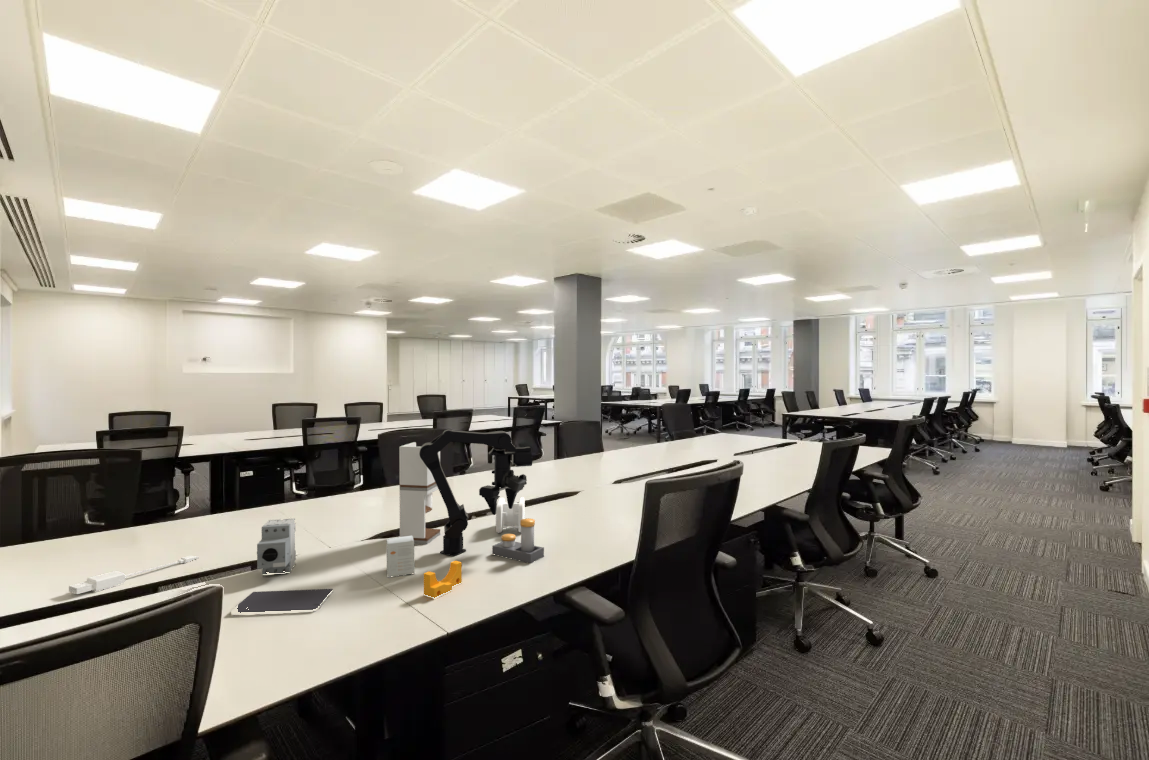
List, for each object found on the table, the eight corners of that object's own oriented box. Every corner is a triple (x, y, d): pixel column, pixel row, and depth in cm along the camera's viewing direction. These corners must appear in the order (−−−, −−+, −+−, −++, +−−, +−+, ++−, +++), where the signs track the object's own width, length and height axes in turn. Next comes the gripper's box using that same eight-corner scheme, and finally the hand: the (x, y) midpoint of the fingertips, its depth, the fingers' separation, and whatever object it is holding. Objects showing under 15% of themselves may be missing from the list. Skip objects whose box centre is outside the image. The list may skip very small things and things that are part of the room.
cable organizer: (522, 535, 201) (522, 505, 201) (494, 535, 200) (494, 505, 200) (524, 524, 216) (525, 495, 215) (498, 524, 215) (498, 495, 215)
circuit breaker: (255, 584, 154) (255, 533, 154) (269, 566, 168) (269, 519, 168) (284, 581, 156) (283, 531, 156) (295, 564, 170) (295, 518, 170)
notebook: (333, 593, 149) (253, 597, 147) (333, 588, 149) (253, 591, 147) (316, 614, 137) (228, 618, 134) (316, 608, 137) (228, 612, 134)
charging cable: (201, 563, 174) (202, 553, 174) (77, 597, 145) (77, 585, 145) (192, 560, 176) (192, 550, 176) (67, 594, 147) (68, 582, 147)
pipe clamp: (434, 600, 145) (434, 576, 144) (423, 596, 147) (423, 573, 147) (466, 585, 155) (465, 563, 154) (455, 582, 157) (455, 560, 157)
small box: (413, 568, 167) (413, 535, 167) (414, 574, 162) (414, 540, 162) (386, 571, 165) (386, 537, 164) (387, 578, 159) (386, 543, 159)
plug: (527, 559, 174) (527, 523, 173) (517, 556, 177) (517, 520, 177) (537, 556, 177) (537, 520, 177) (528, 552, 180) (528, 517, 180)
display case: (427, 544, 190) (427, 447, 190) (399, 542, 192) (399, 446, 191) (440, 534, 202) (440, 443, 201) (414, 533, 203) (413, 442, 203)
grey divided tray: (530, 563, 172) (530, 545, 171) (492, 554, 180) (492, 537, 180) (543, 556, 178) (543, 538, 178) (506, 548, 186) (506, 531, 186)
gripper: (504, 474, 173) (504, 521, 174) (536, 465, 189) (536, 508, 190) (478, 470, 179) (478, 516, 179) (511, 462, 195) (511, 504, 195)
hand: (502, 511), depth 186 cm, fingers open, 9 cm apart
